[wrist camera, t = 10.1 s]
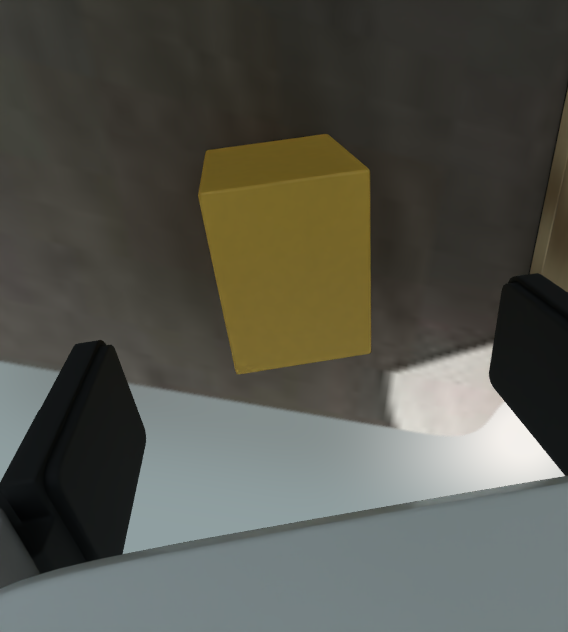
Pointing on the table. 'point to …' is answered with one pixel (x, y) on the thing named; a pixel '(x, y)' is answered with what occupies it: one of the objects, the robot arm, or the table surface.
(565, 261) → the cabinet
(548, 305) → the robot arm
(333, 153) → the yellow block
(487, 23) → the table surface
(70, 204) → the table surface
